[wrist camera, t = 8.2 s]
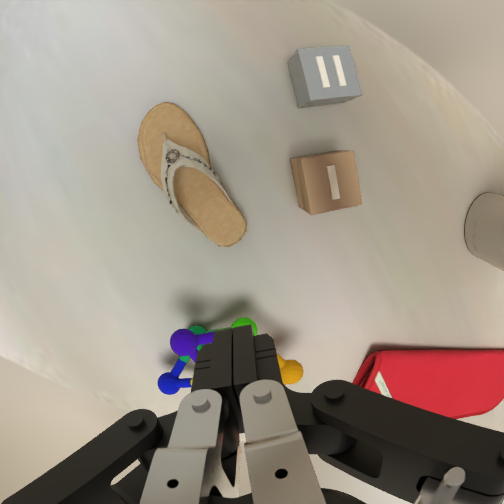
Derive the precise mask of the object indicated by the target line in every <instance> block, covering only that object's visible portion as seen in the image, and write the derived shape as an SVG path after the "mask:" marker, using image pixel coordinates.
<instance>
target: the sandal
mask: <svg viewBox="0 0 504 504" xmlns="http://www.w3.org/2000/svg"><path fill="white" fill-rule="evenodd" d="M138 146H139V152H140V158H141V160H142V162H143V164H144V166H145V167H146V169H147V171H148V173H149V174H150V176H151V178H152V179H153V181H154V182H155V183H156V184H157V185H158V186H159V187H160V188H161V189H162V190H163V191H164V192H165V194H166V196H167V198H168V199H169V201H170V204H172V208H174V210H175V211H176V212H177V213H179V214H181V216H182V217H183V218H184V219H185V220H186V221H187V222H189V223H190V224H191V225H193V226H194V227H196V228H197V229H200V230H201V231H202V232H203V233H204V234H205V235H206V236H207V237H208V238H209V239H210V240H211V241H213V242H214V243H215V244H217V245H218V246H225V247H230V246H232V245H233V244H235V243H237V242H238V241H240V240H241V238H242V237H243V235H244V234H245V232H246V226H247V224H246V220H245V219H244V217H243V215H242V214H241V212H240V211H239V209H238V208H237V207H236V206H235V204H234V203H233V202H232V201H231V199H230V198H229V196H228V195H227V193H226V191H225V190H224V188H223V187H222V184H221V181H220V180H219V177H218V176H217V174H216V173H215V172H214V170H212V169H211V168H210V162H209V156H208V151H207V148H206V145H205V143H204V140H203V137H202V134H201V133H200V131H199V129H198V128H197V126H196V125H195V123H194V122H193V121H192V120H191V119H190V117H189V116H188V115H187V114H186V113H185V112H184V111H183V110H182V109H181V108H179V107H178V106H176V105H174V104H172V103H168V102H165V103H162V104H159V105H156V106H155V107H154V108H153V109H151V110H150V111H149V112H148V113H147V115H146V116H145V118H144V119H143V121H142V124H141V127H140V131H139V136H138ZM217 178H218V179H217ZM219 181H220V182H219ZM175 208H176V209H175Z"/></svg>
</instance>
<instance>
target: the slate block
mask: <svg viewBox="0 0 504 504" xmlns="http://www.w3.org/2000/svg"><path fill="white" fill-rule="evenodd" d="M288 68H289V72H290V76H291V80H292V84H293V88H294V92H295V97H296V101H297V105H298V108H304V107H311V106H319V105H327V104H336V103H344V102H346V101H349V100H351V99H353V98H356V97H358V96H361V95H362V93H361V89H360V84H359V80H358V76H357V72H356V68H355V65H354V61H353V57H352V54H351V50H350V46H328V47H313V48H302V49H297V51H296V52H295V53H294V55H293V56H292V58H291V59H290V61H289V62H288Z"/></svg>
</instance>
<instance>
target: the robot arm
mask: <svg viewBox="0 0 504 504" xmlns="http://www.w3.org/2000/svg"><path fill="white" fill-rule="evenodd" d="M465 240H466V244H467V247H468V249H469V251H470V252H471V253H472V254H473V255H475V256H476V257H478V258H480V259H482V260H484V261H486V262H488V263H490V264H492V265H493V266H495V267H497V268H499V269H501V270H503V271H504V196H502V195H498V194H494V193H484V194H482V195H480V196H479V197H478V198H477V199H476V200H475V201H474V202H473V204H472V205H471V207H470V209H469V212H468V215H467V218H466V223H465ZM239 433H245V437H246V443H245V444H244V447H245V454H246V460H247V466H248V473H249V479H250V485H251V491H252V493H250V494H247V495H244V496H241V497H239V479H240V462H241V448H240V445H239V442H240V441H239ZM309 454H318V456H319V457H320V458H321V459H322V460H323V461H325V462H327V463H329V464H331V465H332V466H334V467H336V468H338V469H340V470H342V471H344V472H346V473H348V474H349V475H351V476H353V477H355V478H357V479H359V480H361V481H363V482H365V483H368V484H370V485H372V486H374V487H376V488H378V489H380V490H382V491H385V492H387V493H389V494H391V495H394V496H396V497H398V498H400V499H403V500H405V501H408V502H410V503H412V504H502V502H503V500H504V433H503V432H499V431H495V430H491V429H488V428H484V427H480V426H477V425H473V424H470V423H466V422H463V421H460V420H456V419H453V418H450V417H446V416H443V415H440V414H437V413H434V412H431V411H428V410H425V409H422V408H419V407H416V406H413V405H410V404H407V403H404V402H401V401H398V400H395V399H393V398H390V397H387V396H384V395H382V394H379V393H376V392H374V391H371V390H368V389H366V388H363V387H360V386H358V385H355V384H353V383H350V382H347V381H344V380H331V381H327V382H324V383H322V384H320V385H319V386H317V387H316V388H315V389H314V390H313V392H312V393H299V392H295V391H292V390H290V389H288V388H287V387H286V386H285V385H284V384H283V381H282V377H281V372H280V367H279V363H278V358H277V353H276V348H275V344H274V339H272V338H271V337H270V336H269V335H268V334H262V335H256V336H254V332H253V327H252V324H248V325H243V326H238V327H233V328H227V329H222V330H216V331H214V334H213V344H207V345H203V346H202V347H201V349H200V350H199V351H198V353H197V357H196V363H195V370H194V375H193V382H192V388H191V393H190V394H188V395H187V396H185V397H184V398H183V399H182V401H181V403H180V405H179V409H178V411H176V412H174V413H171V414H168V415H165V416H162V417H158V418H157V416H156V415H155V413H153V412H152V411H150V410H147V409H138V410H134V411H131V412H129V413H128V414H126V415H125V416H123V417H122V418H121V419H119V420H118V421H117V422H115V423H114V424H113V425H111V426H110V427H109V428H107V429H106V430H105V431H103V432H102V433H101V434H99V435H98V436H97V437H95V438H94V439H92V440H91V441H90V442H88V443H87V444H86V445H85V446H83V447H81V448H80V449H79V450H77V451H76V452H74V453H73V454H72V455H70V456H69V457H67V458H66V459H65V460H63V461H62V462H60V463H59V464H58V465H56V466H55V467H53V468H52V469H50V470H49V471H47V472H46V473H44V474H43V475H42V476H40V477H39V478H37V479H36V480H34V481H33V482H32V483H30V484H28V485H27V486H25V487H24V488H23V489H21V490H19V491H18V492H16V493H15V494H13V495H12V496H10V497H9V498H7V499H5V500H4V501H3V502H2V504H366V503H364V502H362V501H361V500H359V499H357V498H355V497H353V496H351V495H349V494H346V493H344V492H340V491H337V490H332V489H325V488H320V485H319V483H318V480H317V477H316V474H315V471H314V468H313V465H312V462H311V460H310V457H309ZM137 459H138V460H139V462H140V463H141V464H140V465H139V466H137V467H136V468H135V469H133V470H132V471H131V472H130V473H129V474H127V475H126V476H125V477H124V478H122V479H121V480H120V481H119V482H118V483H116V484H114V485H111V481H112V480H113V478H114V477H116V476H117V475H118V474H119V473H121V472H122V471H123V470H124V469H126V468H127V467H128V466H129V465H131V464H132V463H133V462H134V461H135V460H137Z"/></svg>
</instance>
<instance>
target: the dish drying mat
mask: <svg viewBox="0 0 504 504" xmlns="http://www.w3.org/2000/svg"><path fill="white" fill-rule="evenodd" d="M353 384H355V385H358V386H360V387H363V388H366V389H368V390H371V391H374V392H376V393H379V394H382V395H384V396H387V397H390V398H393V399H395V400H398V401H401V402H404V403H407V404H410V405H413V406H416V407H419V408H422V409H425V410H428V411H431V412H434V413H437V414H440V415H443V416H446V417H450V418H453V419H459V418H464V417H469V416H475V415H481V414H485V413H487V412H489V411H490V410H492V409H494V408H495V407H496V406H497V405H498V404H499V403H500V402H501V401H502V400H503V398H504V350H388V351H380V352H373V353H372V354H370V355H369V356H368V357H367V359H366V360H365V361H364V363H363V364H362V366H361V367H360V369H359V371H358V373H357V375H356V377H355V379H354V381H353Z"/></svg>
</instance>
